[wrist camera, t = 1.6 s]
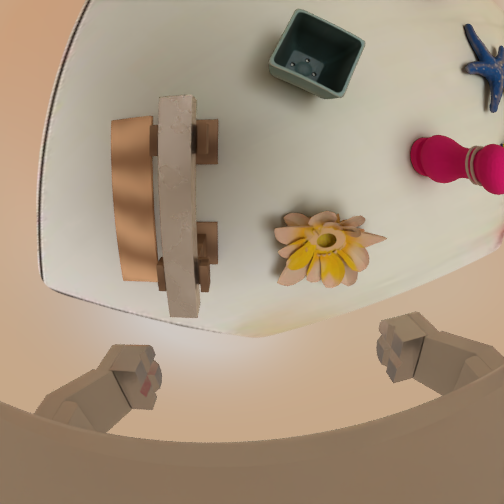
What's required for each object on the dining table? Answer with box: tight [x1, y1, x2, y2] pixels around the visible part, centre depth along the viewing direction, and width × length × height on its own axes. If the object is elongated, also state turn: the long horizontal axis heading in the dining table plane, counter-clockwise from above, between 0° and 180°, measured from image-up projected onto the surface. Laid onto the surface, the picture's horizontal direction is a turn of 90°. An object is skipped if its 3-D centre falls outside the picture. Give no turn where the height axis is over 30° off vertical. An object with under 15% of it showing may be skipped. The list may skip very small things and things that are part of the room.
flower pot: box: [269, 9, 365, 99], centre depth 27 cm, size 9×9×9 cm
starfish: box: [465, 24, 504, 113], centre depth 27 cm, size 19×19×5 cm
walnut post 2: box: [156, 222, 218, 292], centre depth 34 cm, size 6×6×12 cm
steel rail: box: [158, 95, 200, 318], centre depth 26 cm, size 22×3×3 cm, turn 178°
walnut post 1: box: [149, 119, 218, 164], centre depth 29 cm, size 6×6×12 cm
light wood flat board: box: [111, 116, 158, 282], centre depth 36 cm, size 24×6×1 cm, turn 178°
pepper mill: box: [410, 135, 504, 195], centre depth 27 cm, size 7×7×20 cm
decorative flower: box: [274, 211, 387, 288], centre depth 36 cm, size 15×11×10 cm
